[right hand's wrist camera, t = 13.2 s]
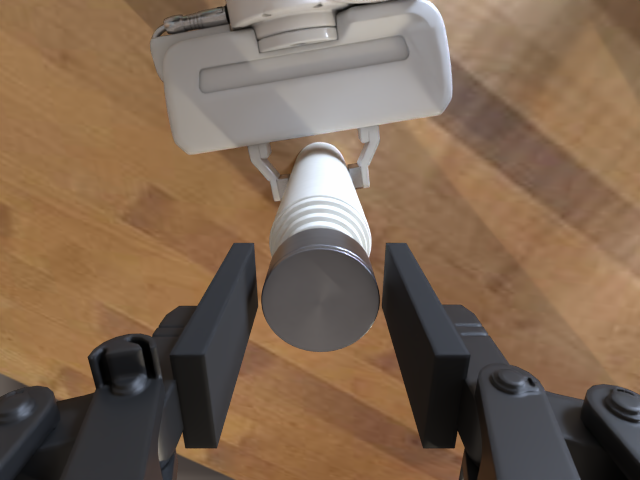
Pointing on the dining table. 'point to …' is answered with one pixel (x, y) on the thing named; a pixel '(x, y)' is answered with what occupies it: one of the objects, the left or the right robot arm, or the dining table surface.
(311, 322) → the cap
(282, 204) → the bottle
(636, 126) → the dining table surface
